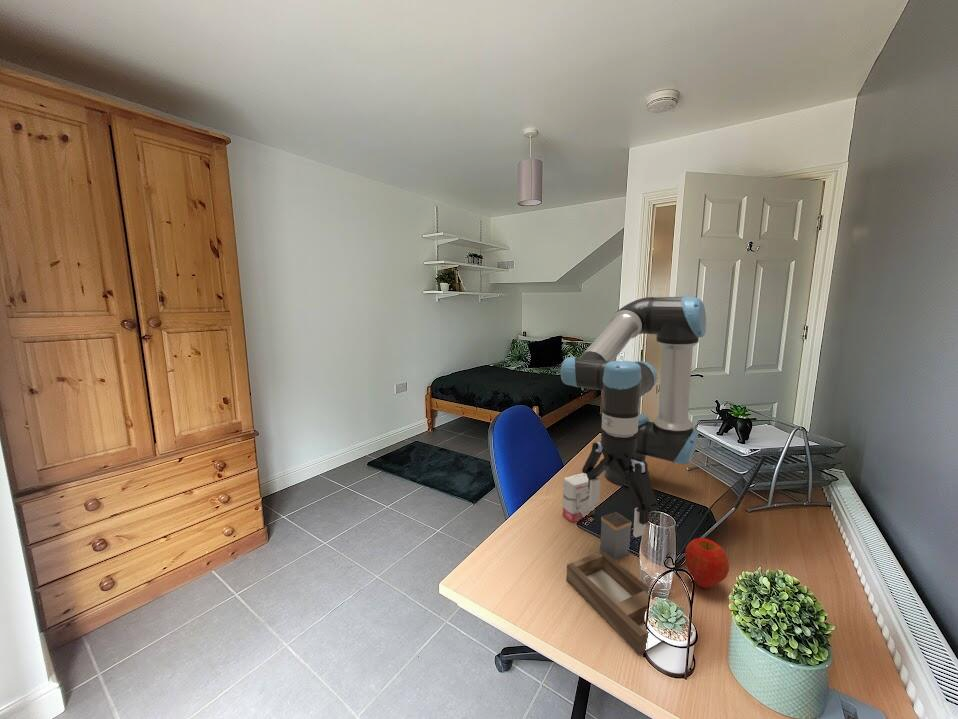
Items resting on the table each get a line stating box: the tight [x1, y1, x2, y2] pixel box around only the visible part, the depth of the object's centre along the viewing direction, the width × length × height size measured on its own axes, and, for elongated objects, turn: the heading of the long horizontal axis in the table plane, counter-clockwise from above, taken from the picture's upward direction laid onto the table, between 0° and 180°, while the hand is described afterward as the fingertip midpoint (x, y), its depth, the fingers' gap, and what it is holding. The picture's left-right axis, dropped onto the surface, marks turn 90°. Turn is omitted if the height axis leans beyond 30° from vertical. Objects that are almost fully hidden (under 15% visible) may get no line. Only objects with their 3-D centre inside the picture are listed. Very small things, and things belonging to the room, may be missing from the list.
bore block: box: [565, 550, 662, 656], centre depth 82 cm, size 11×21×4 cm, turn 26°
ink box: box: [562, 472, 595, 523], centre depth 114 cm, size 9×5×12 cm, turn 116°
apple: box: [684, 537, 730, 589], centre depth 86 cm, size 9×8×11 cm
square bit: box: [599, 511, 633, 561], centre depth 98 cm, size 5×5×9 cm
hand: (615, 518), depth 88 cm, fingers open, 13 cm apart
